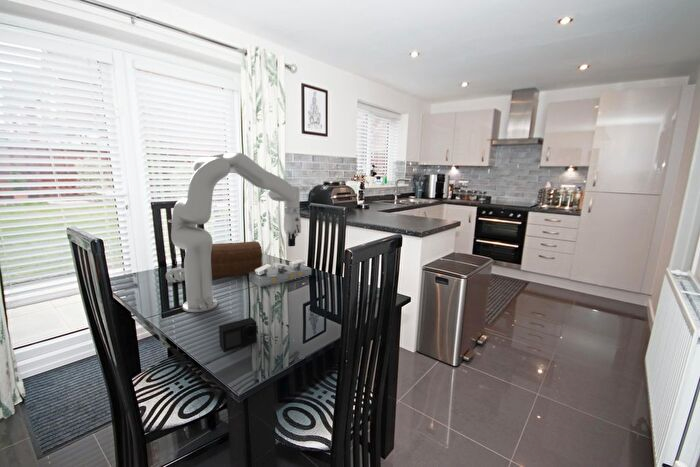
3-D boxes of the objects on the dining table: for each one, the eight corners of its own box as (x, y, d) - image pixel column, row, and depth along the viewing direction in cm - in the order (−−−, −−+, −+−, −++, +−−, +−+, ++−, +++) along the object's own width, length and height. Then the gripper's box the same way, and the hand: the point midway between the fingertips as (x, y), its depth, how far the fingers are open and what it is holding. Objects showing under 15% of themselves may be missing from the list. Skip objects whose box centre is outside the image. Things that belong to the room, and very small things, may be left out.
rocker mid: (288, 270, 162) (289, 266, 162) (276, 268, 157) (277, 264, 157) (284, 268, 165) (285, 264, 165) (272, 266, 161) (273, 262, 161)
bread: (200, 270, 171) (199, 241, 168) (257, 265, 184) (256, 238, 181) (200, 280, 155) (198, 249, 152) (262, 274, 168) (262, 244, 165)
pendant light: (192, 278, 157) (187, 218, 151) (178, 285, 148) (172, 221, 142) (176, 277, 159) (171, 218, 153) (161, 283, 150) (155, 220, 144)
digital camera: (224, 354, 94) (223, 332, 92) (219, 346, 98) (218, 325, 97) (258, 343, 100) (258, 323, 99) (252, 336, 104) (251, 316, 103)
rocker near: (272, 269, 156) (271, 265, 155) (260, 276, 152) (258, 272, 151) (268, 267, 159) (267, 263, 158) (255, 273, 155) (254, 269, 154)
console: (311, 275, 167) (311, 266, 166) (260, 287, 148) (259, 277, 147) (299, 270, 176) (299, 261, 175) (249, 280, 157) (248, 270, 157)
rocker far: (305, 264, 168) (304, 260, 168) (293, 268, 164) (293, 264, 163) (300, 262, 172) (300, 259, 171) (289, 265, 167) (288, 262, 167)
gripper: (306, 211, 157) (305, 247, 160) (290, 209, 168) (290, 242, 171) (293, 212, 152) (292, 249, 155) (278, 209, 163) (278, 244, 166)
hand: (291, 245), depth 163 cm, fingers closed
